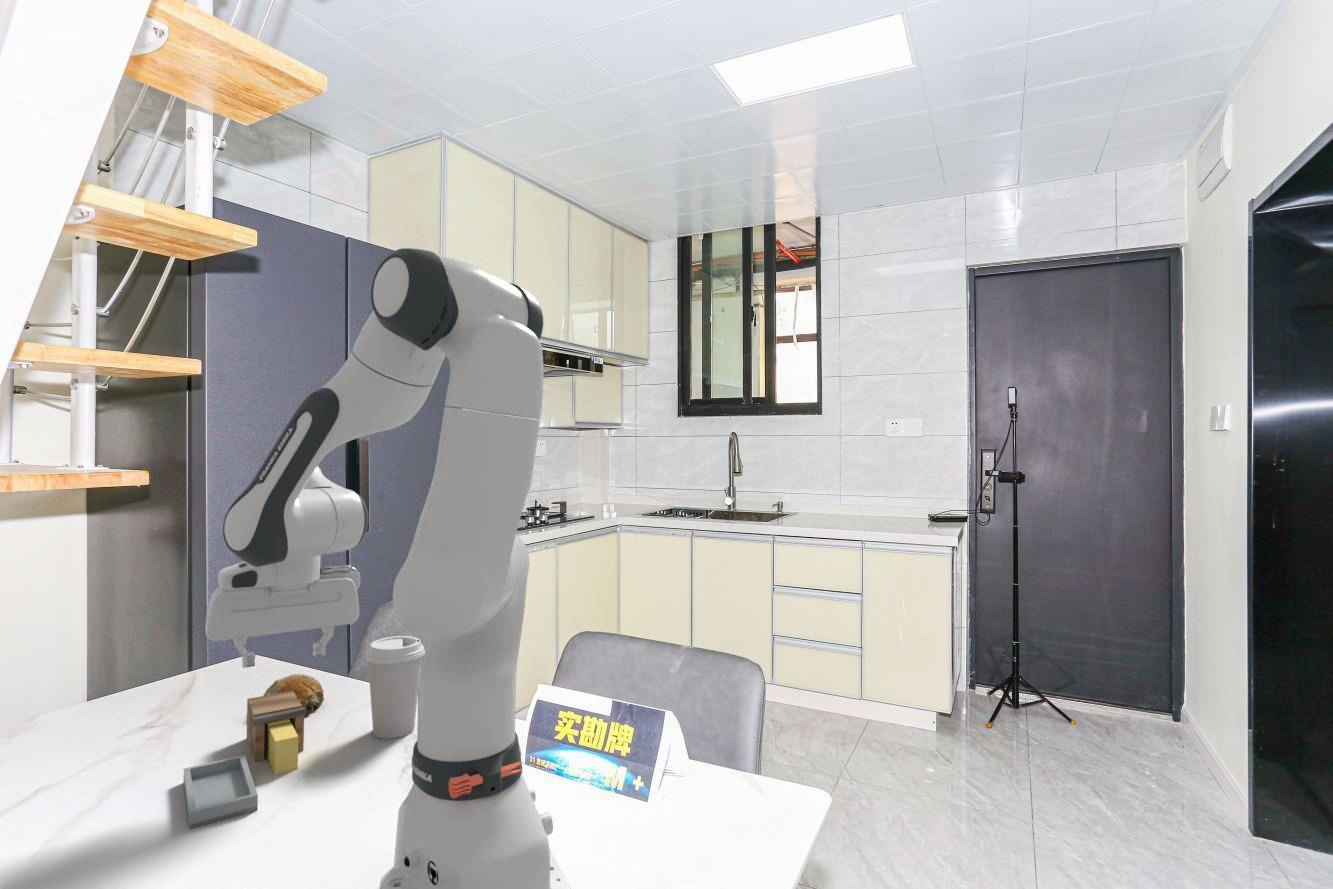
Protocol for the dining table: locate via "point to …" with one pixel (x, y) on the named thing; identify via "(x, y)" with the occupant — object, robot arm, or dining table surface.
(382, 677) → the coffee cup
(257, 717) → the dispenser
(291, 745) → the yellow rectangular block
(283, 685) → the bread roll
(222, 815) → the tray
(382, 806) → the dining table surface
